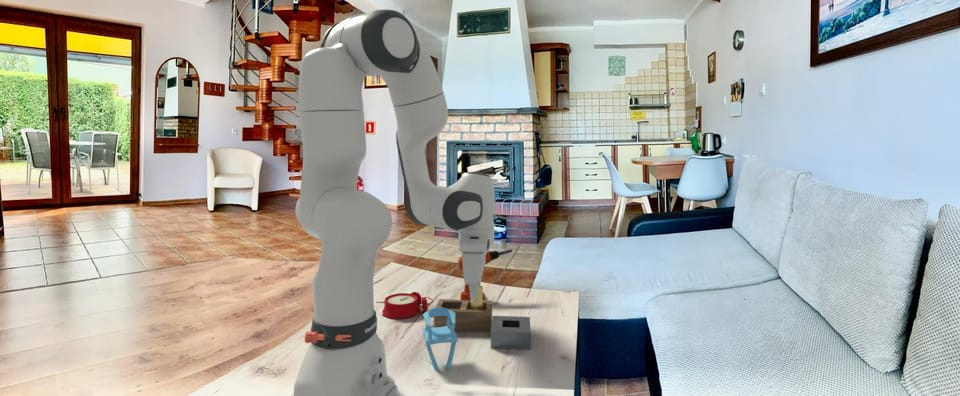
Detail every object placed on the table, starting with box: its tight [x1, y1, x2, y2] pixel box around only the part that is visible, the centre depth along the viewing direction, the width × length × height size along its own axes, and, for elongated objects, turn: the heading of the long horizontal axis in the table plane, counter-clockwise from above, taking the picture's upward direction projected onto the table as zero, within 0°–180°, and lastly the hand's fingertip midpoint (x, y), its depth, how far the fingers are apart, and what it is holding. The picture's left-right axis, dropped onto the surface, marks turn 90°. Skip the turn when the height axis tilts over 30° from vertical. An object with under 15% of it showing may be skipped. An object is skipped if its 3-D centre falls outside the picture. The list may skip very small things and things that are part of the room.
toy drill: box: [457, 248, 513, 300], centre depth 137 cm, size 5×19×15 cm, turn 115°
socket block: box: [490, 315, 532, 351], centre depth 106 cm, size 9×9×5 cm
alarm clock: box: [376, 291, 434, 320], centre depth 126 cm, size 10×6×15 cm
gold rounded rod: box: [471, 284, 484, 310], centre depth 114 cm, size 3×3×10 cm
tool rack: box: [433, 298, 493, 333], centre depth 114 cm, size 8×14×6 cm, turn 85°
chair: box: [422, 306, 458, 371], centre depth 95 cm, size 8×8×12 cm
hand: (475, 291), depth 113 cm, fingers open, 8 cm apart
